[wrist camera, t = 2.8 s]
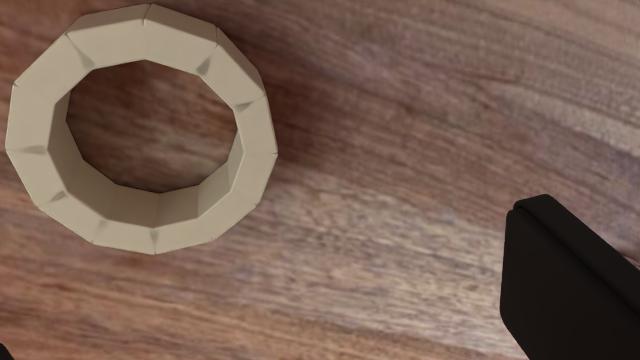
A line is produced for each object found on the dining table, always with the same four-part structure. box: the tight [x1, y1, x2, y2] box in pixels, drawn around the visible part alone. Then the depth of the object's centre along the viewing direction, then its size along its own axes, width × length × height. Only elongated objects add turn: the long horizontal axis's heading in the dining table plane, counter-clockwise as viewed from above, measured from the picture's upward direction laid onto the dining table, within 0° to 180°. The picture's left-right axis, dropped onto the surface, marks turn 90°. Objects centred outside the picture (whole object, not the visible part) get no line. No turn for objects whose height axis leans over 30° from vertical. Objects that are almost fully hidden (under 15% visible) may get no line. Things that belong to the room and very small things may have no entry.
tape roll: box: [5, 3, 278, 255], centre depth 18 cm, size 8×8×2 cm
